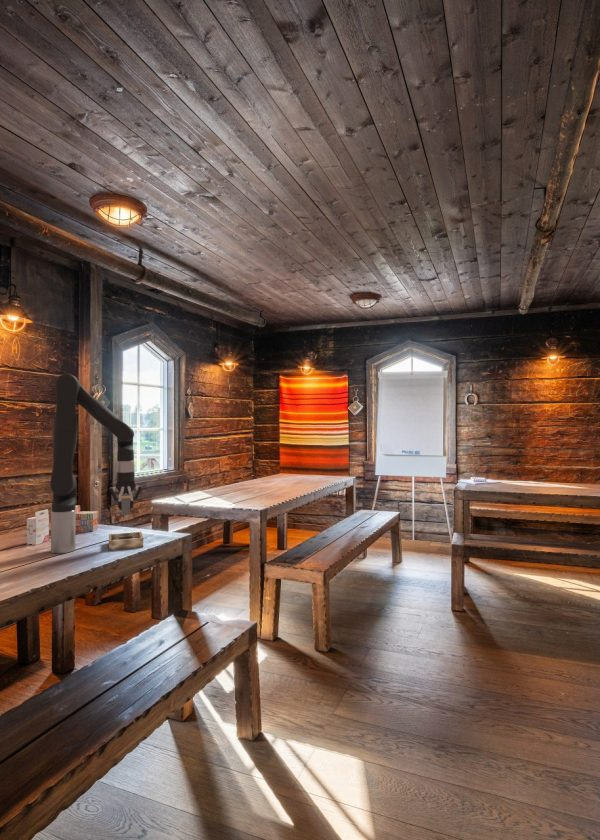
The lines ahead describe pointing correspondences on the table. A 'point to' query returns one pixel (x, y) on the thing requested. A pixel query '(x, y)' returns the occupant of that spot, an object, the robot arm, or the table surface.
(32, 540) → the ink cartridge box
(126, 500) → the connector
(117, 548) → the box
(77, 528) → the multicoloured rectangular block
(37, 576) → the table surface
